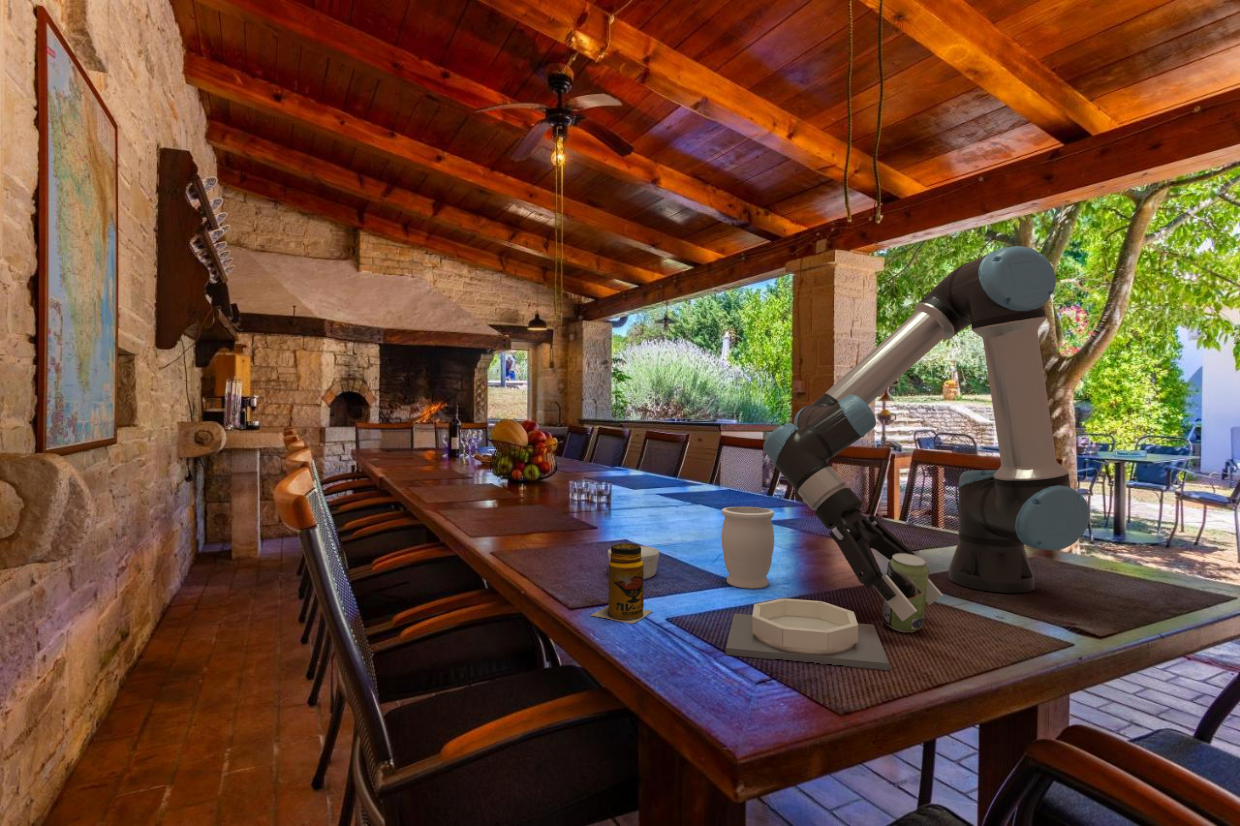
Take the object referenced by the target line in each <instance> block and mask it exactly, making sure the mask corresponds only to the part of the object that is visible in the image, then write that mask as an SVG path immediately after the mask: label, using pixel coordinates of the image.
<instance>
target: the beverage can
mask: <svg viewBox="0 0 1240 826" xmlns="http://www.w3.org/2000/svg"><path fill="white" fill-rule="evenodd" d="M926 562H927V561H926V559H924V558H922V557H921V556H919V555H917V554H915V555H912V554H905V553H898V554H894V555H893V556H892V559H891V560H889V561H888V562H887V565H886V566H887V567H886V575H888V577H889V578H890V579H891V580H892V581H893V583H894V584H895V585H896V586H897V587H898V588H899V590H900V591H901V592H902V593H903V594H904V596H905V597H906V598H907V599H908V600H909V601H910V603H911V604H912V605H913V606H914V607H915V609H916V610H917V611H916V612H915V613H914V614H912V615H911V616H910V617H908V618H907V619H905V620H904V621H902V620H901V619H900V618H899V617H898V616H897V614H896V613H895V612H894V611H893V609H892V608H891V607H890V606H889V605H888V603H887V602H886V601H885V600H884V599H883V604H882V605H883V607H882V614H881V615H882V616H881V618H882V621H883V622H884V624H886V625H887V626H888V627H889V628H890V629H892V630H895V631H897V632H902V633H907V632H908V633H909V632H910V633H914V632H916V631H919V630H921V629H922V628H923V625H924V624H923V623H924V615H925V608H926V601H925V600H926V591H927V583H928V579H929V574H930V572H929V567H928V565H927V564H926Z"/></svg>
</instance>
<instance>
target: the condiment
mask: <svg viewBox="0 0 1240 826" xmlns="http://www.w3.org/2000/svg"><path fill="white" fill-rule="evenodd" d="M640 546H641V545H639V544H636V543H630V542H629V543H628V542H623V543H622V542H620V543H616V544H613V545H612V546H611V547H610V549H611V560H610V561H609V560H608V576H607V577H608V578H607V579H608V594H607V595H608V602H607V603H608V605H606V606H605V607H604V608H601V609H599V610H598V611H595V612H594V613H592V614H590V616H591V617H596V618H604V619H607V620H611V621H617V622H621V623H627V624H636V623H637V622H639V621H640V620H642V619H644V618H645V617H647V616H648V615H649V614H650V613H652V612H653V610H649V609H644V607H645V605H644V604H645V603H644V600H645V598H644V594H645V591H644V589H645V587H644V584H645V583H644V579H643V576H644V570H643V569H644V566H643V562H642V560H641V557H642V555H641V547H640Z"/></svg>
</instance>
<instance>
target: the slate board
mask: <svg viewBox="0 0 1240 826" xmlns="http://www.w3.org/2000/svg"><path fill="white" fill-rule="evenodd" d="M752 615H753V614H746V613H745V614H744V613H735V612H734V613H733V616H732V621H731V625H730V630H729V634H728V637H727V641H726V646H725V656H734V657H746V658H755V659H765V660H766V659H767V660H775V659H783V660H782V661H785V660H793V661H792V662H795V661H804V662H803V663H805V662H814V663H813V664H816V663H820V664H819V665H826V664H832V665H831V666H836V665H843V666H842V667H847V666H849V667H848V668H856V669H857V668H859V669H867V670H869V669H870V670H880V671H888V672H889V671H890V662H889V658H888V657H887V654H886V652H885V650H884V647H883V645H882V642H881V640H880V637H879V635H878V632H877V630H876V627H875V625H874V624H870V623H869V624H866V623H858V642H857V643H856V644H855V646H854V647H853V648H851V649H850V650H848V651H845V652H841V653H836V654H827V655H811V654H800V653H794V652H788V651H784V650H780V649H777V648H773V647H771V646H768V645H766V644H764V643H762V642H761V641H759V640H758V639H757V638H756V637H755V636H754V634H753V633H752ZM775 661H776V660H775Z"/></svg>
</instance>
